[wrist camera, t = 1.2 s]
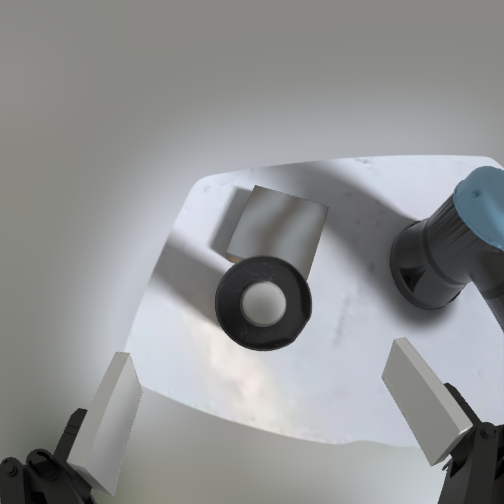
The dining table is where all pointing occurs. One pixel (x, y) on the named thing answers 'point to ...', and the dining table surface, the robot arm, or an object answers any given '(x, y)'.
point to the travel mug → (263, 303)
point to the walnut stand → (278, 229)
